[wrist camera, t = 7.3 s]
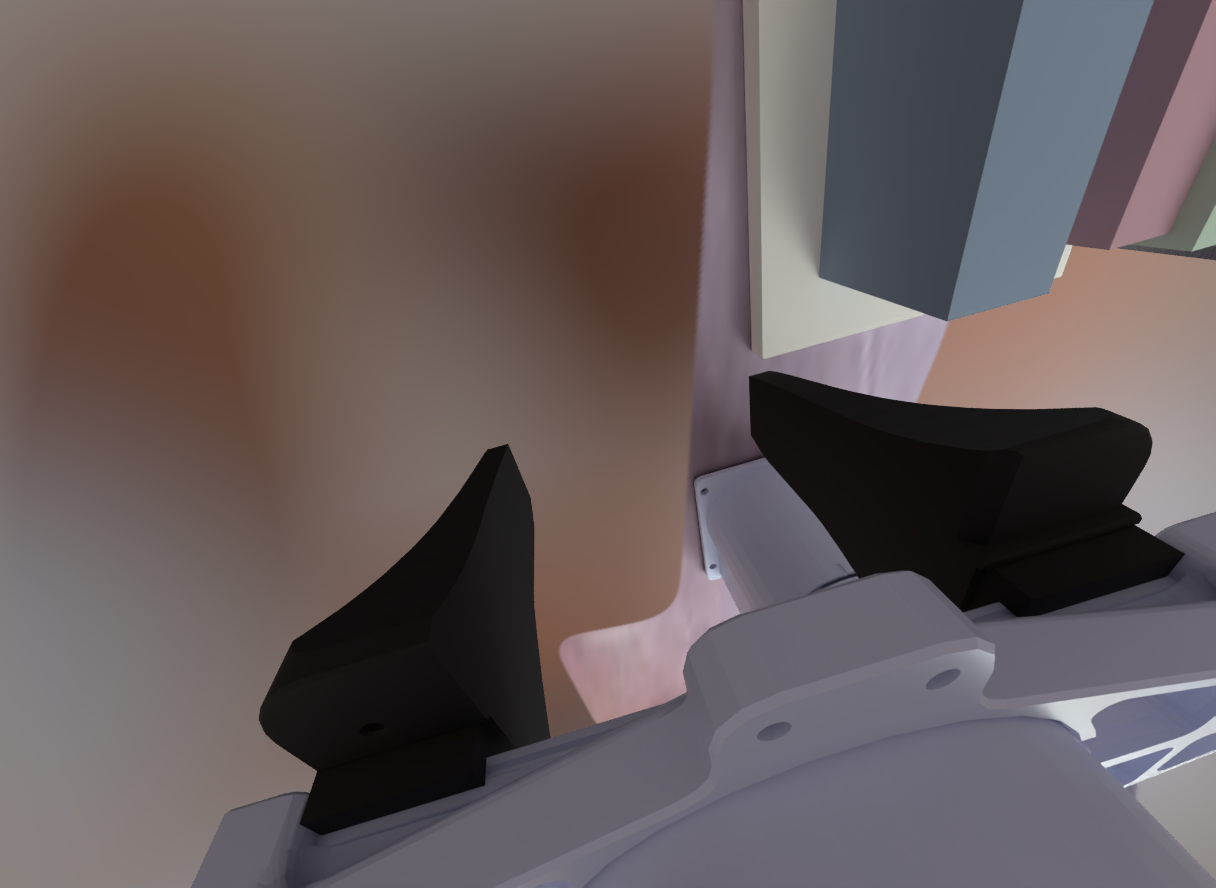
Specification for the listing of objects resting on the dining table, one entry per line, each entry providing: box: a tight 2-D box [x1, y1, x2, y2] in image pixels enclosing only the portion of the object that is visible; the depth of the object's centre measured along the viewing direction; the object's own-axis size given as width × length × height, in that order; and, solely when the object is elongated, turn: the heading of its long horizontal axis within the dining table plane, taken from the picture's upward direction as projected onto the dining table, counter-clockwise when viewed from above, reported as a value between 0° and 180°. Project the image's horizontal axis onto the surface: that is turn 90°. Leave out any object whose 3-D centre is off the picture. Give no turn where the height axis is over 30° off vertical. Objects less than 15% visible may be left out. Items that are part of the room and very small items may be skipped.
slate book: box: [819, 0, 1154, 321], centre depth 14 cm, size 10×4×7 cm, turn 12°
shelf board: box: [743, 0, 1073, 359], centre depth 18 cm, size 16×16×1 cm
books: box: [1066, 0, 1216, 252], centre depth 15 cm, size 10×5×6 cm, turn 12°
